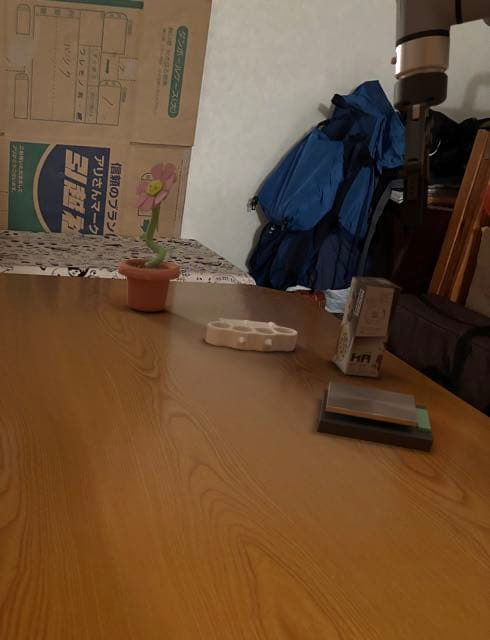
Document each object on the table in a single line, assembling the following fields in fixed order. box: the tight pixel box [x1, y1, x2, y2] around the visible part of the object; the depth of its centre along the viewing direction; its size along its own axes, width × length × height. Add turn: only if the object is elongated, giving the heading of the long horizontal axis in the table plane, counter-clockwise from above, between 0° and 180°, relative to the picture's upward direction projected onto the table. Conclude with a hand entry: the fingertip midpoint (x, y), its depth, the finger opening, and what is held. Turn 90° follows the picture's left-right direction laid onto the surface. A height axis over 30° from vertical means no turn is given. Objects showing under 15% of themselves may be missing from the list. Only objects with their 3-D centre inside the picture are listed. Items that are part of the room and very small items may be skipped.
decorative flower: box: [117, 162, 181, 313], centre depth 169 cm, size 15×14×30 cm
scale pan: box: [326, 381, 418, 427], centre depth 119 cm, size 13×13×1 cm
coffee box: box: [332, 276, 403, 378], centre depth 142 cm, size 9×6×16 cm
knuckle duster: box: [204, 317, 299, 353], centre depth 156 cm, size 3×18×15 cm
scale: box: [316, 389, 434, 453], centre depth 120 cm, size 16×16×2 cm
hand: (414, 227), depth 123 cm, fingers open, 13 cm apart
